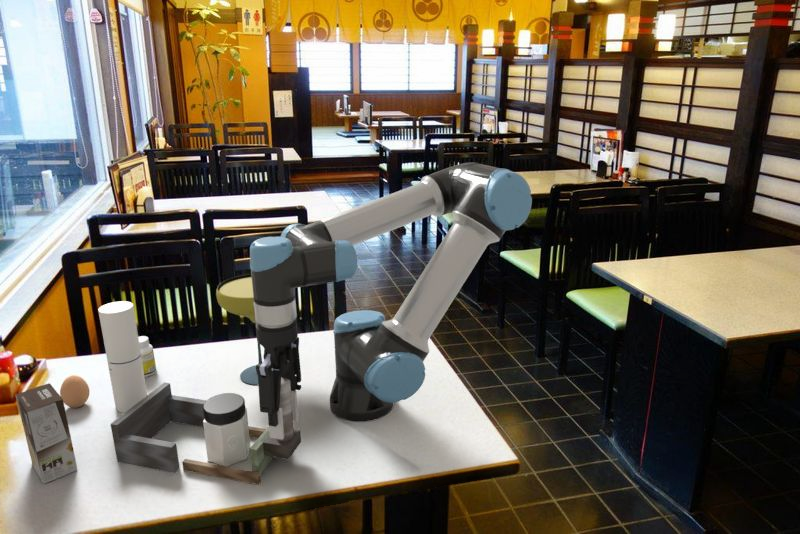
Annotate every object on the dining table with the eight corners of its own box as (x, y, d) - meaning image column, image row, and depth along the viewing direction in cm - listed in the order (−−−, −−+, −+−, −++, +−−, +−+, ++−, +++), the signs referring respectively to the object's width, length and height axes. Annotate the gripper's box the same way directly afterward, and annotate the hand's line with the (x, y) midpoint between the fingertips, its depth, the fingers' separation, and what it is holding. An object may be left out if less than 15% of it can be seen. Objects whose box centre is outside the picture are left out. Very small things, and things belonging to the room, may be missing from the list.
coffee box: (79, 469, 118) (64, 399, 113) (43, 485, 113) (26, 412, 108) (64, 449, 124) (50, 382, 119) (30, 463, 120) (13, 393, 115)
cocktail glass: (262, 399, 142) (253, 303, 135) (210, 380, 151) (199, 289, 144) (310, 369, 157) (305, 280, 149) (260, 353, 166) (253, 268, 158)
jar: (214, 471, 117) (207, 419, 113) (202, 450, 123) (195, 400, 120) (257, 456, 122) (252, 405, 118) (243, 436, 128) (238, 388, 124)
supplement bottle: (134, 370, 157) (128, 336, 154) (156, 366, 159) (151, 333, 156) (134, 379, 152) (128, 345, 149) (157, 375, 154) (151, 341, 151)
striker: (306, 447, 124) (302, 370, 118) (283, 480, 114) (277, 398, 108) (277, 442, 125) (271, 366, 120) (252, 474, 115) (244, 393, 110)
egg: (57, 409, 139) (51, 379, 136) (80, 397, 144) (74, 368, 141) (75, 415, 136) (68, 385, 134) (97, 402, 141) (91, 373, 139)
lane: (293, 437, 128) (290, 401, 125) (255, 488, 112) (251, 448, 109) (169, 417, 135) (164, 382, 133) (117, 462, 120) (110, 424, 117)
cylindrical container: (133, 414, 136) (116, 315, 129) (108, 409, 139) (90, 311, 131) (154, 399, 143) (140, 303, 135) (131, 394, 145) (115, 299, 137)
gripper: (280, 300, 119) (287, 401, 126) (231, 339, 102) (243, 453, 109) (314, 304, 117) (320, 406, 124) (271, 344, 100) (280, 460, 107)
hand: (284, 428), depth 117 cm, fingers open, 6 cm apart
